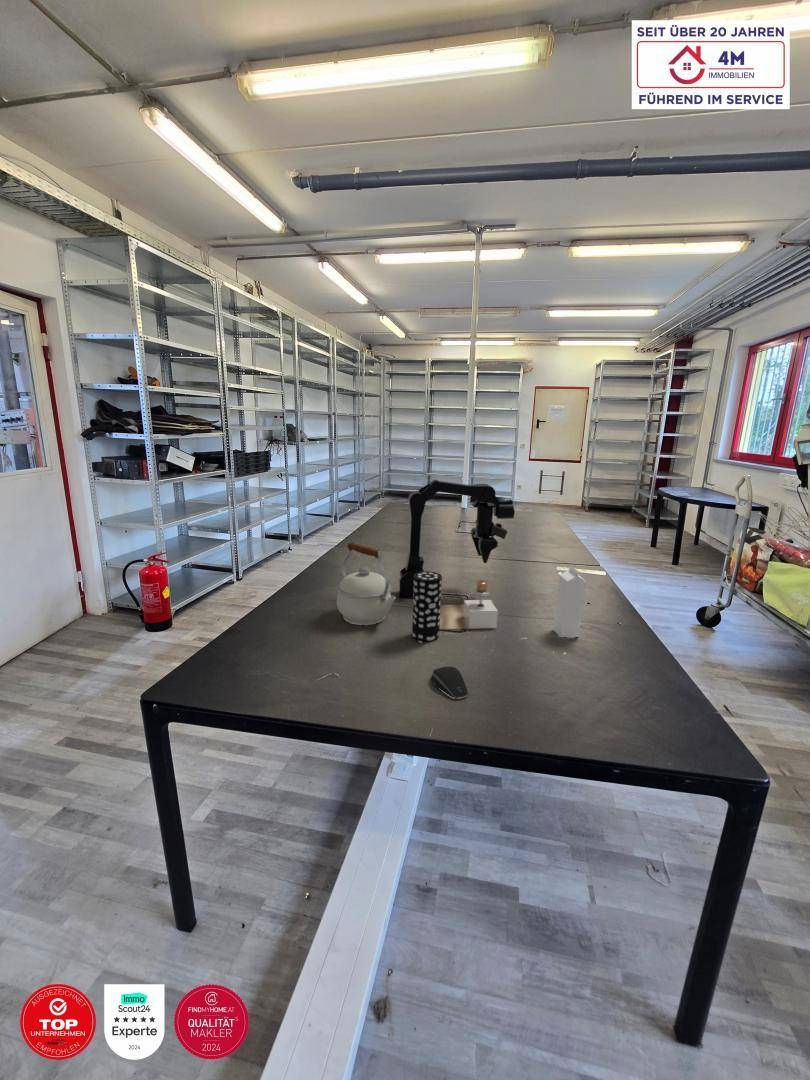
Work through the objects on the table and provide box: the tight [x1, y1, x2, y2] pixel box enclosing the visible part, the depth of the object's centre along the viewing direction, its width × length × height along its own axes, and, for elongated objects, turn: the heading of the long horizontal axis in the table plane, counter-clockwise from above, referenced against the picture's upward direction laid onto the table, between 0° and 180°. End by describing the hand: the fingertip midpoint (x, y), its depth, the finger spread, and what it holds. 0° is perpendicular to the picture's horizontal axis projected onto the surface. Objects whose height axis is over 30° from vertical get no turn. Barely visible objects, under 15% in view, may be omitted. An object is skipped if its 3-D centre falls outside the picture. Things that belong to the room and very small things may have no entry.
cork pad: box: [439, 604, 480, 630], centre depth 150 cm, size 19×19×1 cm
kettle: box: [336, 541, 396, 626], centre depth 145 cm, size 25×18×25 cm
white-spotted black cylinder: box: [411, 570, 443, 644], centre depth 133 cm, size 8×8×20 cm
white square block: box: [463, 599, 499, 629], centre depth 145 cm, size 9×9×6 cm
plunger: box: [473, 580, 491, 607], centre depth 143 cm, size 5×5×9 cm
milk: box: [552, 565, 587, 638], centre depth 137 cm, size 6×6×22 cm
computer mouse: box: [431, 665, 469, 698], centre depth 110 cm, size 7×12×4 cm, turn 24°
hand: (482, 559), depth 166 cm, fingers open, 9 cm apart
